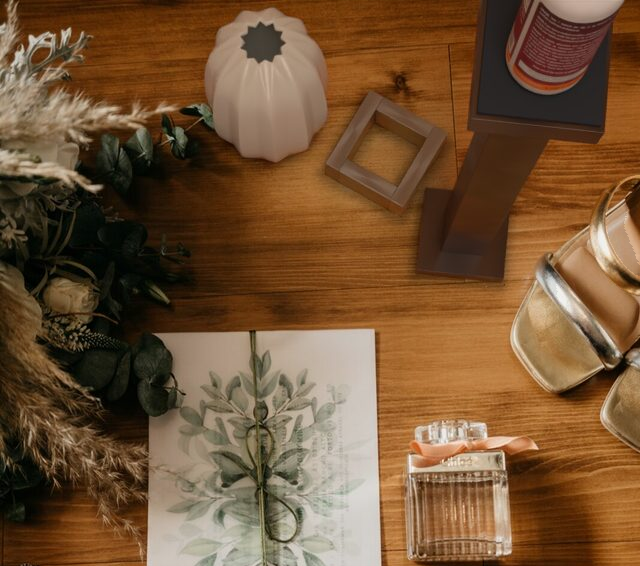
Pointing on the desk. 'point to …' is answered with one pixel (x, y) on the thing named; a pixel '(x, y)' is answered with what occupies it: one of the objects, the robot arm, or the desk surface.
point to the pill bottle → (557, 41)
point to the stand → (400, 124)
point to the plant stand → (488, 184)
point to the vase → (266, 85)
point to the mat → (517, 102)
